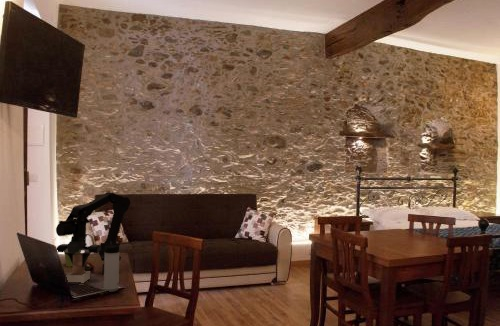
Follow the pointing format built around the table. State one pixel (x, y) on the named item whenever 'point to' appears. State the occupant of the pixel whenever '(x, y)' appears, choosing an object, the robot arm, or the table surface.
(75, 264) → the peg
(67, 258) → the plant pot
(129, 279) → the table surface
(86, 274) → the socket block
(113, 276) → the travel mug
